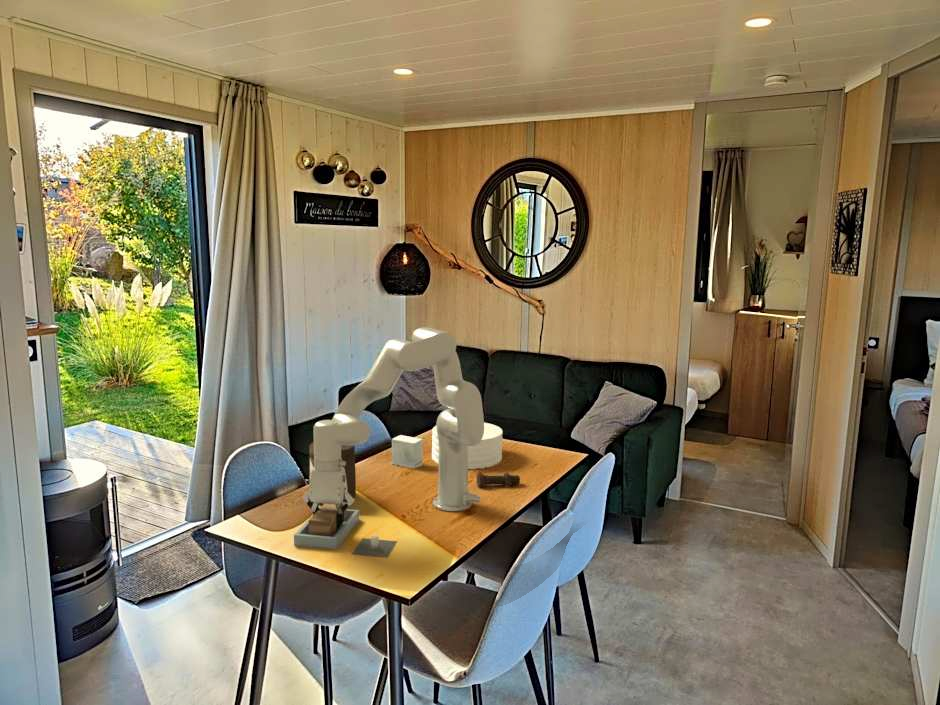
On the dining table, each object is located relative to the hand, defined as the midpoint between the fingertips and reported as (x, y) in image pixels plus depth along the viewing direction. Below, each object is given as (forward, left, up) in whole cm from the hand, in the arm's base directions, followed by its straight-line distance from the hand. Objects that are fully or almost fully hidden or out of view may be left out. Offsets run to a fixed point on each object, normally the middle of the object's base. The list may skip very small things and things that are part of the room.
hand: (328, 523), depth 188 cm
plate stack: (-28, -79, -4) cm, 84 cm away
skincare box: (-7, -65, -4) cm, 65 cm away
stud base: (-16, +7, -3) cm, 18 cm away
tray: (0, 0, -3) cm, 3 cm away
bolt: (-44, -50, -4) cm, 67 cm away
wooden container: (+9, -28, -4) cm, 30 cm away
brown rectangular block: (0, 0, -1) cm, 1 cm away
